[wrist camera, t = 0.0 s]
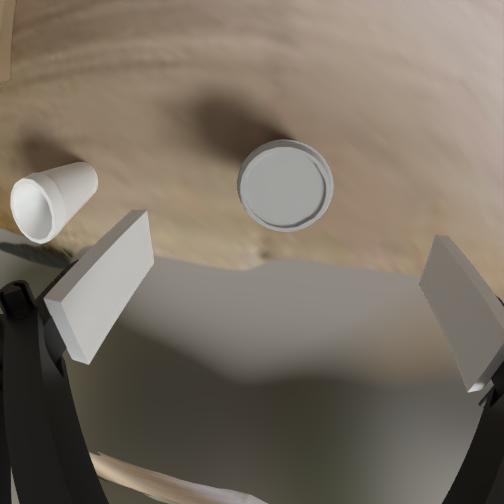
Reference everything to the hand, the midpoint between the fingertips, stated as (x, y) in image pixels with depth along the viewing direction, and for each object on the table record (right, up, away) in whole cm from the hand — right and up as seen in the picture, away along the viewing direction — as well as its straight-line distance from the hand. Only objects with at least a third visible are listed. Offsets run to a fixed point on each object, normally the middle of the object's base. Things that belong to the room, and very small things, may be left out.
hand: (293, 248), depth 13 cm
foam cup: (-29, +12, +30) cm, 43 cm away
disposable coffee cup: (+3, +12, +26) cm, 28 cm away
